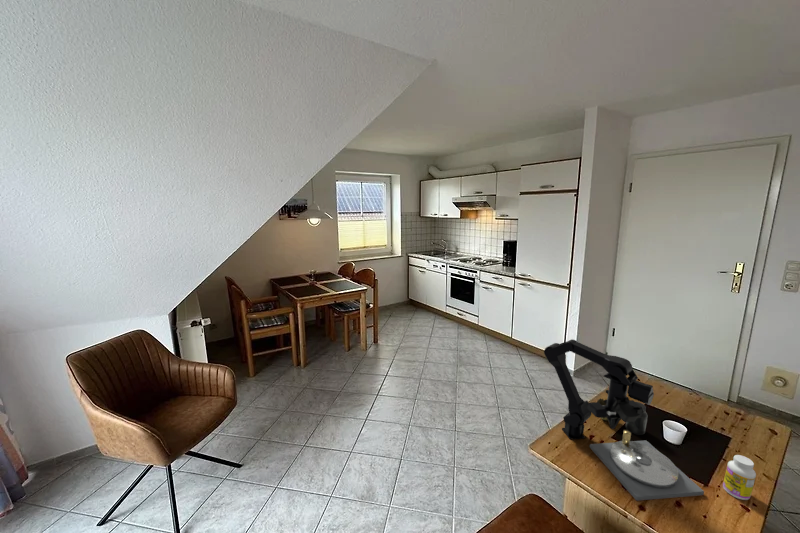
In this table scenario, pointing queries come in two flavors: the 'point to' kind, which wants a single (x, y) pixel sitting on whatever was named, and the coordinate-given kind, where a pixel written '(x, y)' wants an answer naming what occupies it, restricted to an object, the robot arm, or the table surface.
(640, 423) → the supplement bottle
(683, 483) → the plate
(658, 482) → the grey round piece
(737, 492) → the supplement bottle
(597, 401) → the cup
